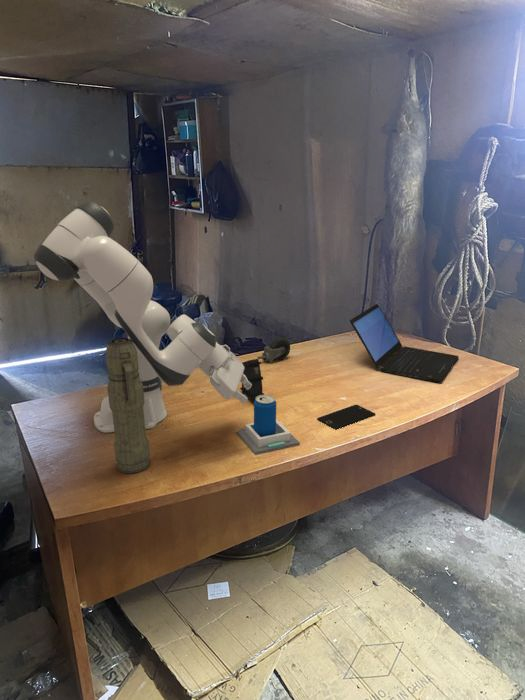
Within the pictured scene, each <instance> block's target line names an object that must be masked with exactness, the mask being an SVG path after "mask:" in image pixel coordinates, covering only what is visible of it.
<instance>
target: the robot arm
mask: <svg viewBox="0 0 525 700" xmlns="http://www.w3.org/2000/svg"><path fill="white" fill-rule="evenodd" d="M114 230H115V221H114V219H113V218H112V216H111V214H110V213H109V212H108V211H107V209H105V208H104V207H103V206H101V205H100V204H98V203H97V202H94V201H91V200H85V201H83V202H82V203H80V204H79V205H77V206H75V209H73V211H71V212H70V213H69V214H68V215H66V216H65V217H64V218H63V219H62V220H61V221H60V222H58V223H57V225H56V227H55V228H54V229H53V230H52V231H51V232H50V233H49V235H47V237H46V239H45V240H44V241H43V242H42V244H39V246H38V247H37V248H36V250H35V252H34V253H33V258H34V262H35V264H36V266H37V268H38V269H39V270H40V272H41V273H42V274H43V275H44V276H46V277H47V278H49V279H51V280H54V281H57V282H58V283H59V282H60V283H61V282H69V281H71V280H74V281H75V282H76V283H77V284H78V285H79V286H80V287H81V288H82V289H84V290H85V291H86V292H87V294H88V295H90V296H91V297H92V298H93V299H94V300H95V301H96V303H98V305H99V306H100V307H101V308H102V310H103V312H104V313H105V314H106V316H107V317H108V319H109V320H110V321H111V322H112V323H113V324H114V325H115V326H117V327H118V328H121V329H122V330H123V331H124V332H125V334H126V335H127V338H128V339H131V340H132V341H133V343H134V345H135V347H136V350H137V356H138V366H139V369H138V372H139V376H140V379H141V381H142V384H143V392H144V402H145V403H144V406H143V411H144V421H145V430H146V429H148V430H149V429H154V428H155V427H156V425H157V424H158V423H160V422H161V421H163V420H164V419H166V417H167V415H168V413H167V412H168V411H167V409H166V407H165V404H164V400H163V394H162V386H163V383H164V384H166V385H167V386H169V387H171V386H172V387H174V386H175V387H177V386H181V385H184V384H185V382H186V381H187V380H188V378H190V377H191V374H192V373H194V371H195V370H196V369H197V368H198V369H200V371H202V373H203V374H205V376H207V377H209V383H210V384H211V386H212V387H213V388H214V389H215V391H216V392H217V393H218V394H219V396H221V397H222V398H223V399H225V400H230V399H231V398H233V399H236V400H238V401H239V402H241V403H242V404H246V402H248V400H249V399H248V397H247V396H246V395H245V394H242V392H240V389H239V388H238V387H239V385H240V383H241V385H242V384H243V385H244V387H245V388H246V389H247V390H249V389H250V388H251V386H252V384H251V383H250V382H249V381H248V379H247V378H246V376H245V375H244V374H243V372H244V369H245V367H244V365H243V364H242V361H241V360H240V359H239V358H238V356H236V355H235V354H234V352H232V351H231V348H230V347H229V346H228V345H227V344H223V345H222V344H219V343H218V342H217V335H216V334H215V333H214V332H212V330H210V329H209V328H208V327H207V326H206V324H205V323H204V322H203V321H202V322H200V321H199V322H196V321H195V320H194V319H192V318H191V317H190V316H188V315H187V314H185V313H184V314H183V313H182V314H180V315H179V316H178V317H176V318H174V320H173V321H172V322H171V316H170V313H169V312H168V310H167V309H166V308H165V307H163V306H162V305H161V304H160V303H158V302H156V301H154V300H152V297H153V293H154V281H153V277H152V274H151V273H150V272H149V271H148V269H147V267H145V265H143V264H142V263H141V262H140V260H138V258H137V257H136V256H134V255H133V254H132V253H131V252H130V251H128V250H127V249H126V248H125V247H123V246H122V245H121V244H120V243H118V242H117V241H116V240H113V238H111V237H112V234H113V232H114ZM165 334H167V336H168V337H169V339H170V340H171V341H170V343H169V344H168V345H167V346H166V347H165V348H164V349H161V350H159V348H160V343H161V340H162V337H163V336H164V335H165ZM100 405H101V406H100V410H99V411H97V412H96V413H95V414H94V415H93V424H94V427H95V428H96V430H98V431H99V432H101V433H104V434H105V433H106V434H107V433H115V432H114V423H113V415H112V410H111V409H110V406H109V398H108V395H107V396H106V397H104V398H103V399H102V401H101V404H100Z"/></svg>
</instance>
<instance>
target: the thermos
mask: <svg viewBox="0 0 525 700" xmlns="http://www.w3.org/2000/svg"><path fill="white" fill-rule="evenodd" d="M105 361H106V368H107V374H108V382H107V387H106V389H107V390H106V391H107V396H108V398H109V406H110V409H111V410H112V415H113V423H114V432H113V433H114V438H115V439H114V443H113V448H114V454H115V455H114V456H115V461H116V467H117V469H118V471H119V472H122V473H124V474H136V473H140V472H142V471H145V470H146V469H148V468H149V466H150V465H151V459H150V454H151V452H150V443H149V439H148V437H147V431H146V429H145V421H144V411H143V406H144V403H145V402H144V392H143V384H142V381H141V379H140V376H139V372H138V369H139V366H138V356H137V350H136V347H135V345H134V343H133V341H132V340H131V339H128V337H117V338H114V339H111V340H110V341H107V345H106V349H105Z"/></svg>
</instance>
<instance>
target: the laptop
mask: <svg viewBox="0 0 525 700" xmlns="http://www.w3.org/2000/svg"><path fill="white" fill-rule="evenodd" d="M349 322H350V324H351V326H352V328H353V329H354V331H355V333H356V334H357V336H358V338H359V340H360V342H361V343H362V345H363V347H364V348H365V350H366V352H367V353H368V355H369V357H370V359H371V360H372V362H373V364H374V366H375V368H376V369H377V370H379V371H381V372H385V373H389V374H395V375H398V376H403V377H408V378H412V379H417V380H418V379H419V380H424V381H428V382H434V383H442V381H444V379H445V377H446V376H448V375H447V374H448V373H449V372H450V370H452V368H453V366H454V365H455V363H457V361H458V359H459V355H455V354H450V353H445V352H438V351H435V350H434V351H432V350H427V349H423V348H416V347H410V346H403V345H402V342H401V341H400V340H399V338H398V336H397V334H396V332H395V331H394V329H393V327H392V325H391V324H390V322H389V320H388V318H387V316H386V315H385V313H384V312H383V310H382V308H381V307H380V305H379V304H378V303H376V304H374V305H372V306H371V307H369V308H367V309H366V310H365V311H362V312H360V313H359V314H358V315H356V316H355V317H353V318H351V319H350V320H349Z"/></svg>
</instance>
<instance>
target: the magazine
mask: <svg viewBox="0 0 525 700" xmlns="http://www.w3.org/2000/svg"><path fill="white" fill-rule="evenodd" d="M241 362H242V361H241ZM242 364H243V365H244V367H245V369H244V372H243V374H244V375H245V376H246V378H247V379H248V381H249V382H250V383H251V384H252V386H251V388H250V389H249V390H247V389H246V388H245V387H244V385H243V384H242V383H241V387H240V389H239V390H241V393H242V394H245V395H246V396H247V397H248V400H249V401H250V402H251V403H252V404H253V405H254V401H255V400H256V397H257V396H260V395H265V393H264V392H263V380H264V376H262V372H261V366H260V365H261V364H262V362H261V361H260V359H258V358H255V359H249V360H246V361H243V362H242Z"/></svg>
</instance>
